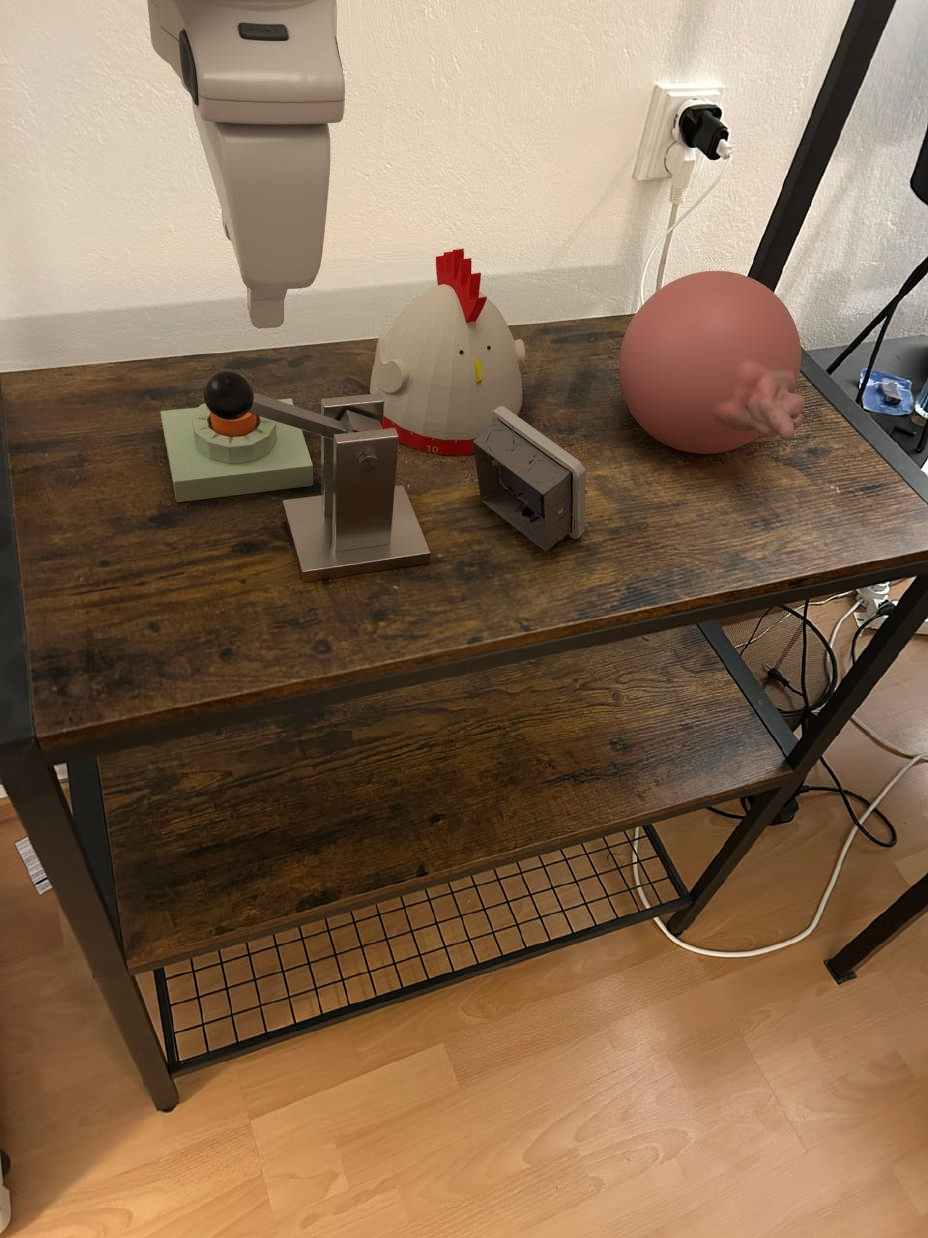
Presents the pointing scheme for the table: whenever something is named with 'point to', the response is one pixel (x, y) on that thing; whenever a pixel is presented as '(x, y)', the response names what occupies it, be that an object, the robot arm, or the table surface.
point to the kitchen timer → (448, 364)
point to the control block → (232, 456)
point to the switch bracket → (356, 503)
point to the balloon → (712, 364)
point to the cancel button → (234, 425)
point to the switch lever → (274, 408)
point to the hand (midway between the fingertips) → (251, 276)
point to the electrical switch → (530, 480)
